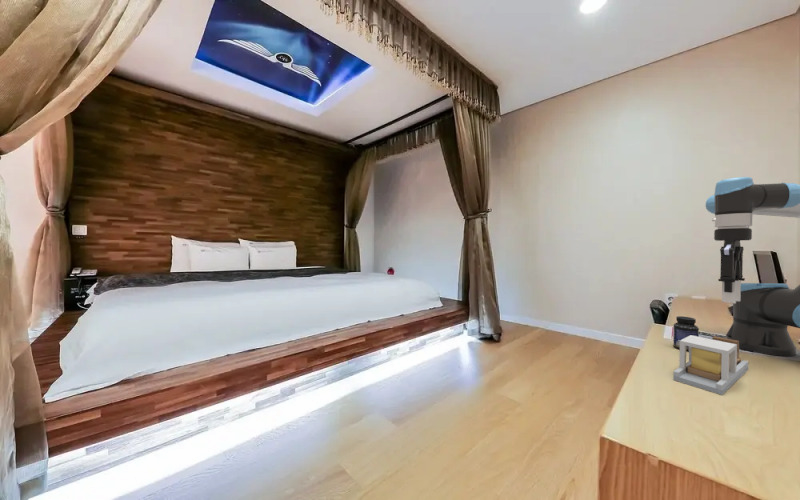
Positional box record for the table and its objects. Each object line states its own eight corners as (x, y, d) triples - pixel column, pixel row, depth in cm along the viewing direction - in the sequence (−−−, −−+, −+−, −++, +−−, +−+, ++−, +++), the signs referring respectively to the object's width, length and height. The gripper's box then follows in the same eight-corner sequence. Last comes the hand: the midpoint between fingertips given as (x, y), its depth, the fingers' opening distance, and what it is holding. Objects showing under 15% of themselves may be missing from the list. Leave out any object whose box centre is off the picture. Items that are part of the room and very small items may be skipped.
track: (704, 358, 88) (705, 327, 88) (748, 369, 81) (748, 335, 81) (673, 379, 75) (673, 343, 75) (721, 395, 67) (722, 354, 67)
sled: (711, 355, 87) (712, 334, 87) (741, 363, 82) (741, 339, 82) (687, 372, 77) (687, 347, 76) (720, 381, 71) (720, 355, 71)
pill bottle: (703, 353, 93) (704, 320, 93) (682, 351, 94) (682, 319, 94) (688, 346, 99) (689, 316, 99) (668, 345, 100) (669, 315, 100)
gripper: (722, 229, 94) (721, 296, 95) (706, 228, 85) (704, 302, 86) (758, 228, 88) (756, 300, 88) (744, 226, 79) (742, 307, 79)
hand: (731, 301), depth 87 cm, fingers open, 5 cm apart
